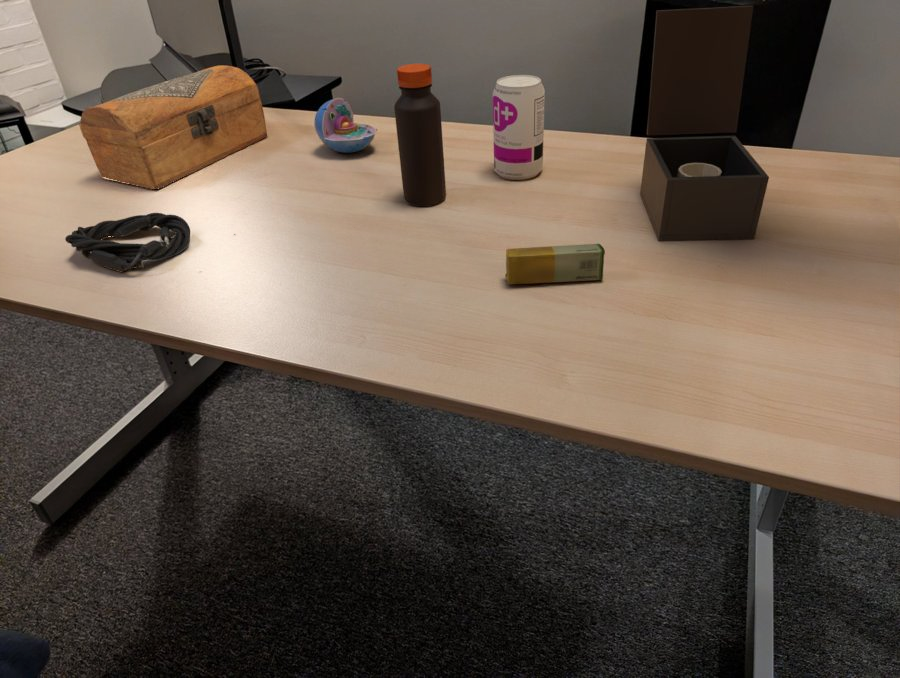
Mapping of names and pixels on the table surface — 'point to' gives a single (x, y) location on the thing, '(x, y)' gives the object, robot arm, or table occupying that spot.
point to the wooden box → (174, 126)
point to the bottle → (419, 137)
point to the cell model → (341, 127)
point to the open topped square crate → (702, 189)
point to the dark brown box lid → (698, 70)
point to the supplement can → (518, 126)
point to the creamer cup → (698, 170)
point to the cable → (126, 253)
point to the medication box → (554, 264)
